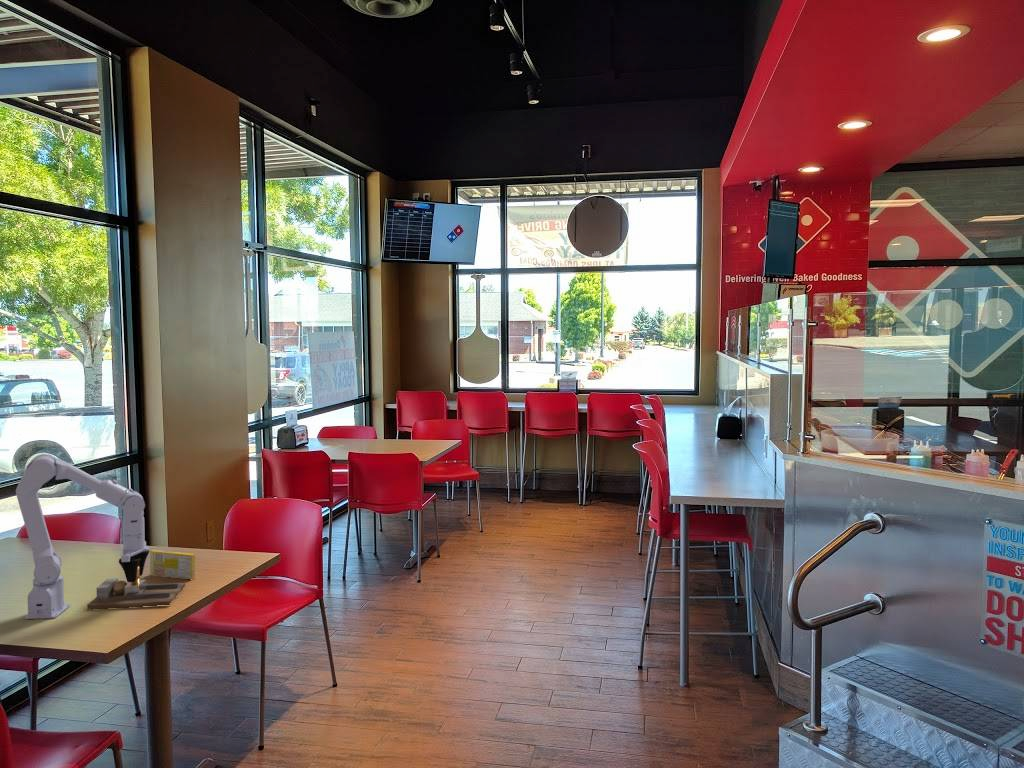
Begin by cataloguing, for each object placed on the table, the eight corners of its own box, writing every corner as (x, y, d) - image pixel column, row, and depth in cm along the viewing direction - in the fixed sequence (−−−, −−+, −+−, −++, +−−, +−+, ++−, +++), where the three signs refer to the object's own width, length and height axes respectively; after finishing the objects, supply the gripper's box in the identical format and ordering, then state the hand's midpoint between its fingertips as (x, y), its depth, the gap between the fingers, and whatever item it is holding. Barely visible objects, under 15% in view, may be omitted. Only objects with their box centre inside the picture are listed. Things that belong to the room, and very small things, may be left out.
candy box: (196, 578, 235) (195, 553, 235) (191, 580, 233) (191, 555, 233) (154, 573, 240) (153, 549, 239) (149, 575, 237) (148, 550, 237)
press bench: (169, 606, 211) (168, 589, 210) (87, 610, 207) (86, 592, 207) (185, 587, 227) (185, 571, 226) (109, 590, 223) (109, 574, 223)
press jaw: (139, 595, 214) (138, 569, 214) (124, 596, 213) (123, 570, 213) (146, 588, 220) (145, 563, 219) (131, 589, 219) (131, 563, 219)
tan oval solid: (126, 594, 214) (123, 581, 214) (112, 598, 214) (108, 585, 214) (131, 589, 218) (128, 577, 218) (117, 593, 218) (114, 580, 218)
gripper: (139, 539, 209) (140, 586, 210) (156, 526, 223) (157, 570, 224) (113, 540, 208) (114, 587, 209) (131, 527, 222) (132, 571, 223)
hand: (134, 578), depth 216 cm, fingers open, 5 cm apart
